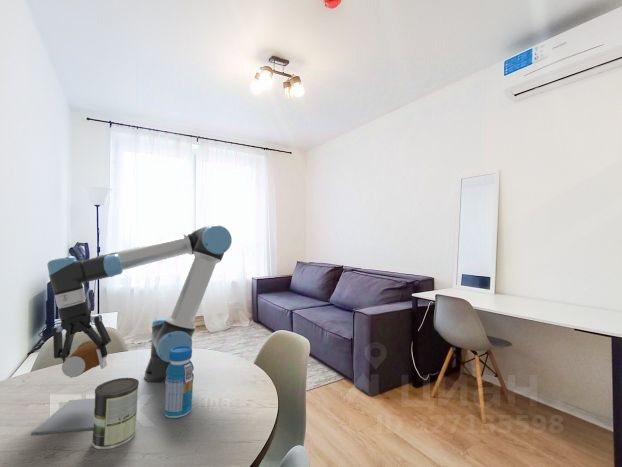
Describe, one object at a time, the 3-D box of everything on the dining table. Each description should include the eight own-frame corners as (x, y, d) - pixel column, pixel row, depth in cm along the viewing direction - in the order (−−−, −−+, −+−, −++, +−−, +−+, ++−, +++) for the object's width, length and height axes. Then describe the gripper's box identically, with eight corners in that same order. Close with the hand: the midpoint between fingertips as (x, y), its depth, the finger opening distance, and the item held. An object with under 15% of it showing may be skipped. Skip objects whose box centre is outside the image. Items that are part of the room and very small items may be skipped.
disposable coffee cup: (50, 377, 90) (72, 362, 101) (83, 386, 91) (102, 369, 103) (63, 347, 90) (84, 334, 102) (96, 355, 92) (113, 342, 104)
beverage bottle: (163, 421, 90) (167, 354, 91) (163, 408, 98) (166, 346, 99) (193, 415, 94) (196, 350, 95) (190, 402, 102) (193, 343, 103)
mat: (128, 397, 104) (128, 396, 104) (103, 428, 86) (103, 426, 86) (70, 401, 101) (70, 400, 101) (31, 434, 83) (31, 432, 83)
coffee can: (82, 450, 77) (85, 394, 78) (106, 426, 87) (109, 377, 88) (124, 449, 78) (127, 393, 79) (142, 426, 88) (145, 377, 89)
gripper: (26, 316, 91) (44, 387, 92) (102, 297, 96) (119, 365, 96) (42, 310, 99) (59, 376, 99) (112, 293, 103) (128, 356, 104)
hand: (89, 371), depth 98 cm, fingers closed on disposable coffee cup, 8 cm apart
